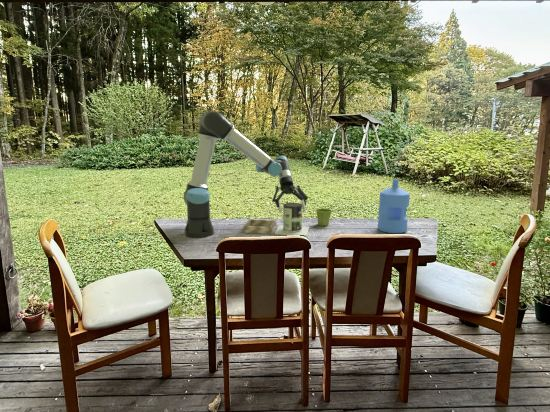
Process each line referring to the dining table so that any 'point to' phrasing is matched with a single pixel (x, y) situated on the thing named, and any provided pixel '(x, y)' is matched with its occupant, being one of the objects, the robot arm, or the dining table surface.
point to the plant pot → (323, 216)
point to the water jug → (393, 209)
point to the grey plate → (282, 232)
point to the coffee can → (292, 217)
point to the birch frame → (259, 226)
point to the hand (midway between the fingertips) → (292, 211)
